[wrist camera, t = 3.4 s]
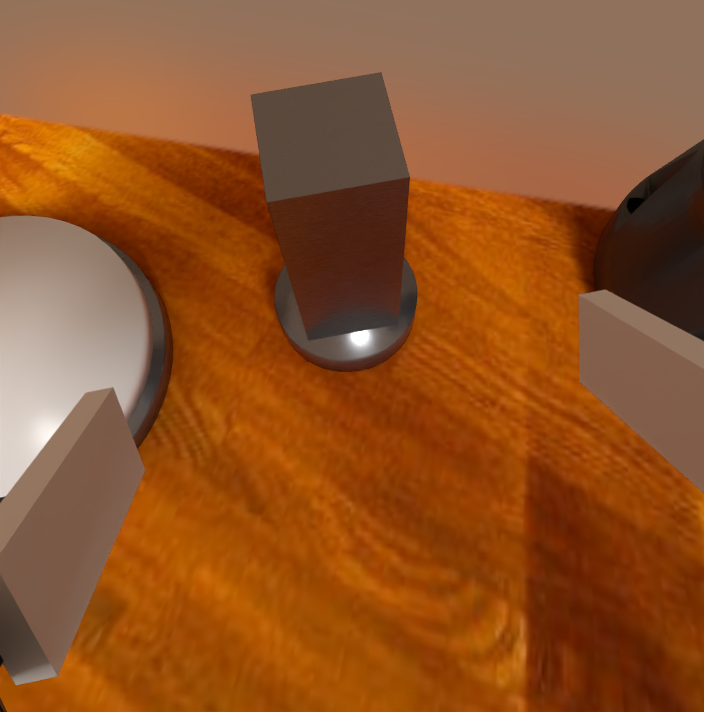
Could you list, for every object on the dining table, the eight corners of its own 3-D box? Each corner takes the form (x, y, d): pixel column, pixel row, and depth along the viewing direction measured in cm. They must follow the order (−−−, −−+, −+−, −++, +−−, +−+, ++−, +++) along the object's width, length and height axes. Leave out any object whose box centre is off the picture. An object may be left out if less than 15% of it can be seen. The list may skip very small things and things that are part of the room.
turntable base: (163, 216, 36) (154, 201, 35) (183, 494, 30) (173, 491, 28) (-115, 266, 36) (-135, 254, 34) (-157, 561, 29) (-184, 560, 28)
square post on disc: (399, 240, 35) (411, 37, 22) (428, 357, 32) (463, 204, 19) (272, 263, 34) (207, 72, 21) (290, 383, 31) (227, 246, 18)
